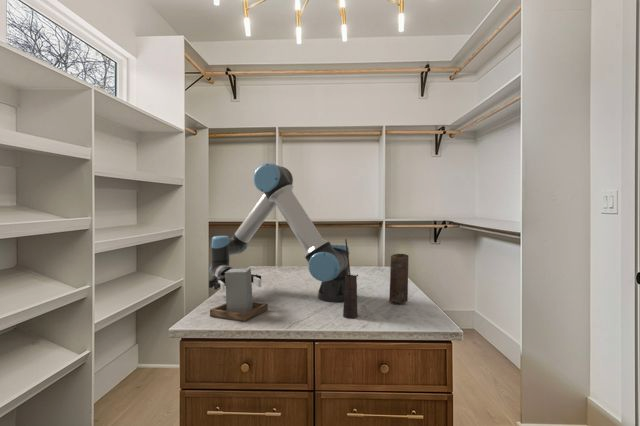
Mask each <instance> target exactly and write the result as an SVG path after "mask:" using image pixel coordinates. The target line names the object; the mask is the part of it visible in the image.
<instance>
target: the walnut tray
mask: <svg viewBox="0 0 640 426" xmlns="http://www.w3.org/2000/svg"><path fill="white" fill-rule="evenodd" d="M268 310H269V304H268V303H266V302H259V301H258V302H257V301H253V308H252V310H250V311H248V312H246V313H237V312H230V311H227V305H226V303H223V304H221V305H218V306H216V307H213V308H211V309H209V317H210V318H211V317H212V318H218V319H222V320H223V319H224V320H231V321H237V322H243V323H245V322H247V321H249V320H251V319H253V318H255V317H257V316H259V315H261V314H263V313H265V312H267V311H268Z"/></svg>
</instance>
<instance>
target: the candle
mask: <svg viewBox="0 0 640 426" xmlns="http://www.w3.org/2000/svg"><path fill="white" fill-rule="evenodd" d="M409 258H410V257H409V255H408V254H407V253H395V254H392V255H390V273H389V274H390V275H389V276H390V277H389V295H388V296H389V298H388V299H389V303H393V304H396V305H400V304H403V303H407V302H408V300H409V297H408V295H409Z"/></svg>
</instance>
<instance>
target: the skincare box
mask: <svg viewBox="0 0 640 426" xmlns="http://www.w3.org/2000/svg"><path fill="white" fill-rule="evenodd" d="M251 274H252V268H249V267H248V268H233V269H230V270H228V271H227V272H225V284H226V286H225V300H226V305H227V311H230V312H237V313H246V312H248V311H250V310H252V308H253V302H254V301H253V288H252V287H253V285H252V284H253V283H252V282H251Z"/></svg>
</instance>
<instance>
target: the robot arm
mask: <svg viewBox="0 0 640 426" xmlns="http://www.w3.org/2000/svg"><path fill="white" fill-rule="evenodd" d="M292 174H293V173H291V171H290V170H289V169H288V168H287V167H284V166H280V165H278V164H277V165H276V164H275V163H267V162H266V163H263V164H261V165H259V166H258V167H257V168H256V169H255V171H254V174H253V178H252V179H253V184H254V186H255V188H256V190H258V191H260V192H262V193H263V194H262V195H261V197H260V198H259V199H258V201H257V202H256V204H255V205H254V206H253V208H252V209H251V211H250V212H249V214H247V216H246V218H244V220H243V222H241V224H240V225H239V227H238V228H237V230H236V231H235V232H234V234H233V235H232V237H231V238H230V237H229V235H214V236H213V237H211V249H210V250H211V265H210V267H209V274H210V276H211V277H212V278H210V279H209V280H208V288H209V289H212V288H213V287H214V288H213V289H214V290H218V289H219V290H220V291H222V292H226V284H225V272H227V271H228V270H230V269H234V268H233V267H231V266H230V257H231V256H233V255H240V254H242V253H244V252H246V250H247V249H248V245H249V244H248V243H249V242H250V240H251V239H252V238H253V236H254V235H255V234H256V232H257V231H258V230H259V228H260V227H261V226H262V224H263V223H264V221H265V220H266V219H267V218H268V217H269V216H270V214H271V212H272V211H273V209H275V207H277V208H278V210H279V212H280V213H281V215H282V216H283V218H284V219H285V220H284V221H286V222H287V224H288V226H289V227H290V229H291V231H292V232H293V234H294V235H295V237H296V239H297V240H298V242H299V244H301V246H302V248H303V250H304V252H305V253H304V258H305V260H306V262H307V263H308V271H309V274H310V275H311V276H312V277H313V279H315V280H317V281H320V282H321V283H320V285H319V290H318V293H317V296H318V299H319V300H321V301H325V302H333V303H336V302H338V303H340V302H344V290H345V289H344V288H345V286H344V285H345V276H346V275H349V269H348V260H347V251H346V244H345V245H344V244H343V245H341V244H332V243H331V242H330V241H329V240H326V239H323V236H322V235H321V233H320V232H319V231H318V229H317V227H316V226H315V224H314V223H313V222H312V220H311V218H310V216H309V215H308V214H307V212H306V210H305V209H304V208H303V206H302V204H301V203H300V201H299V200H298V198H297V197H296V195H295V194H294V192H293V189H294V185H293V184H294V178H293V175H292ZM347 247H348V257H349V258H350V250H349V249H350V248H349V246H348V245H347ZM251 282H252V284H253V285H255V286H257V287H258V288H262V275H259V274H252V273H251Z"/></svg>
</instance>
